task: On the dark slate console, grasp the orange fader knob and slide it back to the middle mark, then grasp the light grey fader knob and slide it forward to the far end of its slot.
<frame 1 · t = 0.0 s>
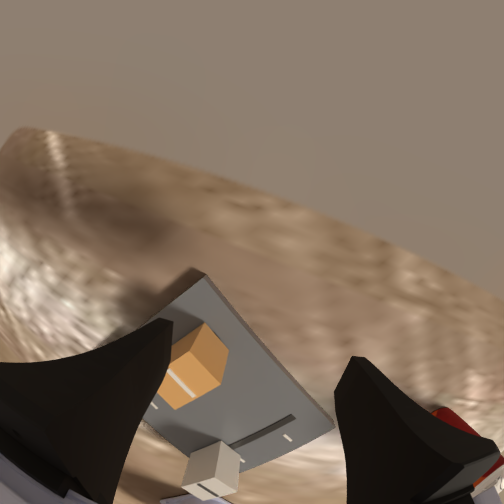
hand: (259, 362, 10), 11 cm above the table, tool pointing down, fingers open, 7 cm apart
orange fader: (189, 365, 17), point 4 cm above the table, slide at 8.0 cm
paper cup: (432, 424, 22), on the table
grey fader: (211, 472, 19), point 4 cm above the table, slide at 0.0 cm
console: (213, 399, 22), on the table
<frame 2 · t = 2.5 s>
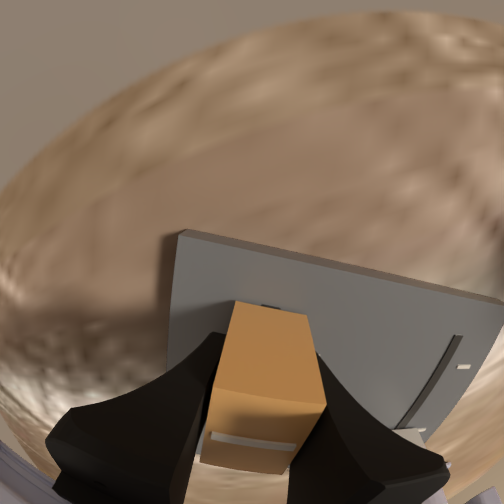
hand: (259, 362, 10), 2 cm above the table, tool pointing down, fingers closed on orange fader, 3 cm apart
orange fader: (257, 389, 9), point 4 cm above the table, slide at 8.0 cm, touching gripper
grey fader: (394, 474, 11), point 4 cm above the table, slide at 0.0 cm
console: (338, 390, 13), on the table
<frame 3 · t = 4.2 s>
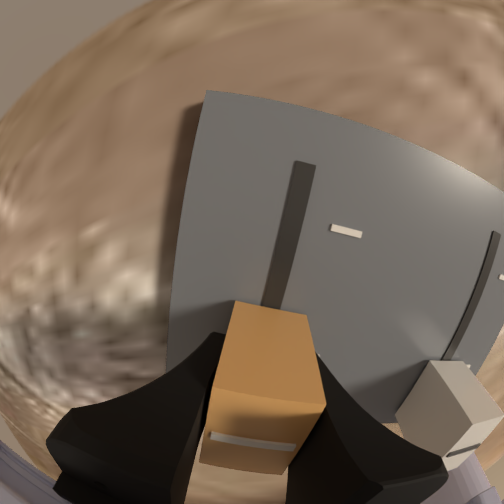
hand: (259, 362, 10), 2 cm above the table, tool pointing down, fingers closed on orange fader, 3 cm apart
orange fader: (257, 389, 9), point 4 cm above the table, slide at 2.5 cm, touching gripper
grey fader: (446, 418, 9), point 4 cm above the table, slide at 0.0 cm
console: (378, 303, 12), on the table
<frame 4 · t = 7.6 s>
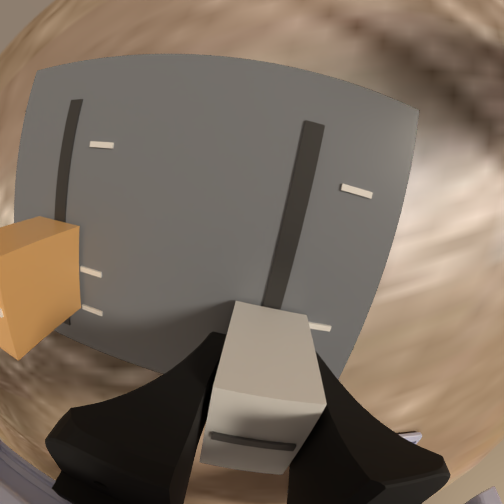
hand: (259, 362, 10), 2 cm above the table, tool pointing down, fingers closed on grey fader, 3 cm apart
orange fader: (24, 279, 8), point 4 cm above the table, slide at 2.5 cm
grey fader: (257, 389, 9), point 4 cm above the table, slide at 0.0 cm, touching gripper
console: (165, 224, 11), on the table
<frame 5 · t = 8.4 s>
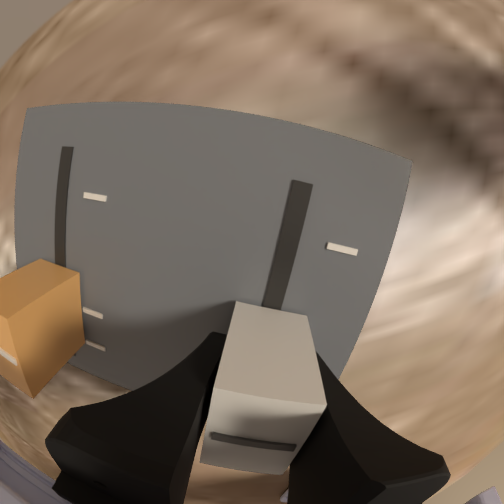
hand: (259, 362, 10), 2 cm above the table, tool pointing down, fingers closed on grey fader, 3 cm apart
orange fader: (31, 323, 9), point 4 cm above the table, slide at 2.5 cm
grey fader: (257, 389, 9), point 4 cm above the table, slide at 2.2 cm, touching gripper
console: (160, 271, 12), on the table
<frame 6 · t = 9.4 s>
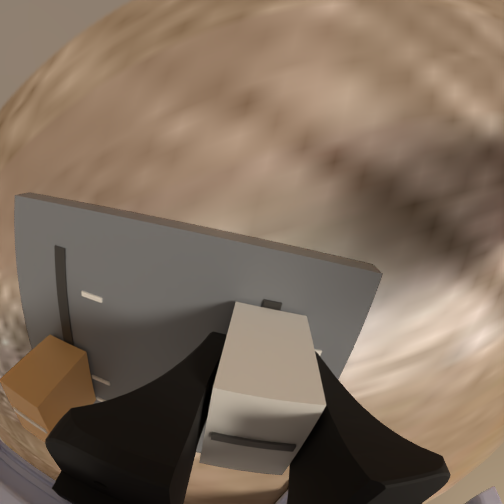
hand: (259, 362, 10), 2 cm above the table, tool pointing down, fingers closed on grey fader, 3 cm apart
orange fader: (51, 393, 10), point 4 cm above the table, slide at 2.5 cm
grey fader: (257, 389, 9), point 4 cm above the table, slide at 6.7 cm, touching gripper
console: (155, 351, 13), on the table
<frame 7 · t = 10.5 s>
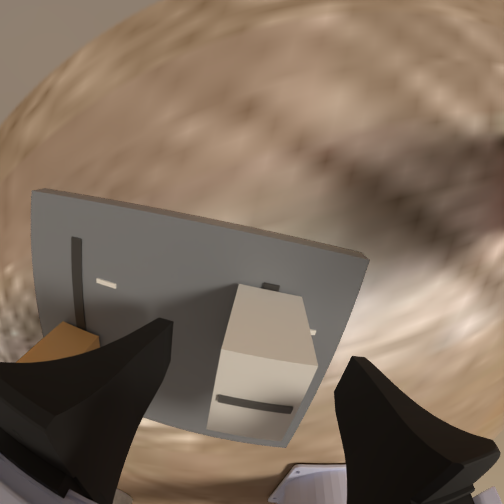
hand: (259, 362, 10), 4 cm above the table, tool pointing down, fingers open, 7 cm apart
house plant: (119, 494, 25), on the table
orange fader: (63, 376, 12), point 4 cm above the table, slide at 2.5 cm
grey fader: (258, 361, 10), point 4 cm above the table, slide at 6.8 cm
console: (163, 335, 15), on the table
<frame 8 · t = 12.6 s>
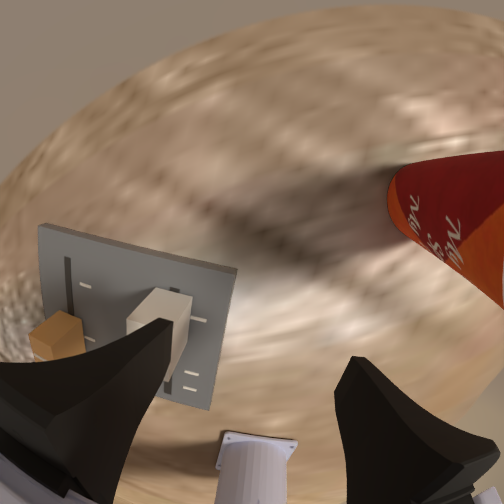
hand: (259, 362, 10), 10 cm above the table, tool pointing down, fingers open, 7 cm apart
orange fader: (58, 345, 19), point 4 cm above the table, slide at 2.5 cm
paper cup: (417, 200, 18), on the table
grey fader: (160, 332, 17), point 4 cm above the table, slide at 6.8 cm
console: (121, 319, 22), on the table
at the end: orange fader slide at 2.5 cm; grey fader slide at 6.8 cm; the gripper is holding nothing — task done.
